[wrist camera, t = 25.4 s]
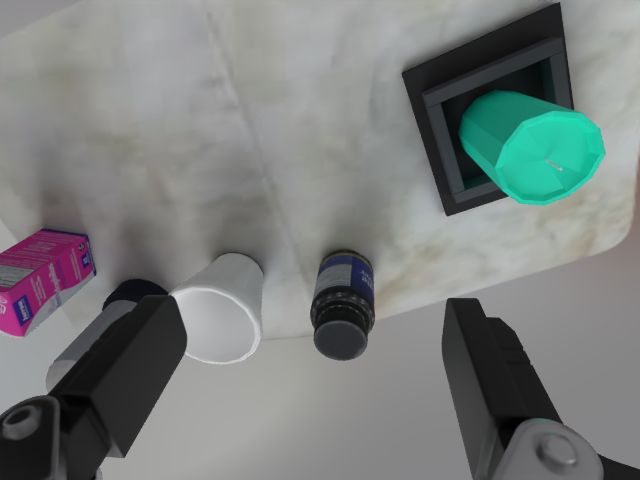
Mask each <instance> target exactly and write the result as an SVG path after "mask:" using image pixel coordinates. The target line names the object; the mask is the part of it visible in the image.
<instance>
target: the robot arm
mask: <svg viewBox="0 0 640 480" xmlns="http://www.w3.org/2000/svg"><path fill="white" fill-rule="evenodd" d="M186 347H187V332H186V329H185V326H184V323H183V320H182V317H181V314H180V311H179V307H178V304H177V301H176V299H175V298H174V296H172V295H146V296H144V297H143V298H142V299H141V300H140V301H139V302H138V304H137V305H136V306H135V307H134V308H133V309H132V311H131V312H127V313H125V314H124V315H123V316H121V317H120V318H118V319H117V320H115V321H114V322H112V323H111V324H110V325H109V326H108V327H107V329H106V330H105V331H104V332H103V333H102V334H101V335H100V336H99V339H97V340H96V341H95V342H94V343H93V344H92V345H91V346H90V348H89V351H86V352H85V353H84V354H83V355H82V356H81V358H80V359H79V360H78V361H77V362H76V363H75V364H74V365H73V366H72V368H71V369H70V370H69V371H68V372H67V373H66V374H65V375H64V376H63V378H62V379H61V380H60V381H59V382H58V383H57V384H56V385H55V386H54V388H53V389H52V390H51V391H50V392H49V393H48V394H47V395H42V396H36V397H32V398H29V399H26V400H24V401H22V402H20V403H18V404H16V405H14V406H13V407H11V408H9V409H8V410H6V411H5V412H4V413H3V414H1V415H0V480H102V472H101V470H100V468H99V466H100V465H101V463H102V462H103V460H104V458H105V457H118V458H125V456H126V454H127V453H128V451H129V449H130V447H131V445H132V444H133V442H134V440H135V439H136V437H137V435H138V433H139V432H140V430H141V428H142V426H143V425H144V423H145V421H146V420H147V418H148V416H149V414H150V413H151V411H152V409H153V407H154V406H155V404H156V402H157V400H158V399H159V397H160V395H161V393H162V392H163V390H164V388H165V387H166V385H167V383H168V381H169V380H170V378H171V376H172V374H173V373H174V371H175V369H176V367H177V366H178V364H179V362H180V360H181V359H182V357H183V355H184V353H185V351H186ZM442 355H443V362H444V366H445V370H446V374H447V378H448V382H449V386H450V390H451V394H452V398H453V402H454V406H455V410H456V414H457V418H458V422H459V426H460V430H461V434H462V438H463V442H464V446H465V450H466V454H467V458H468V462H469V466H470V470H471V474H472V478H473V480H640V469H637V468H634V467H631V466H628V465H625V464H621V463H619V462H616V461H613V460H610V459H608V458H606V457H604V456H601V455H599V454H598V453H596V451H595V450H594V449H593V447H592V446H591V445H590V444H589V443H588V442H587V441H586V440H585V439H584V438H583V437H582V436H581V435H579V434H578V433H577V432H575V431H574V430H572V429H571V428H569V427H567V426H565V425H564V424H563V422H562V421H561V419H560V417H559V415H558V413H557V411H556V410H555V408H554V406H553V404H552V402H551V400H550V398H549V396H548V394H547V392H546V391H545V389H544V387H543V385H542V383H541V381H540V379H539V377H538V375H537V373H536V372H535V369H534V368H533V366H532V365H531V364H530V360H529V358H528V356H527V354H526V353H525V351H523V346H522V345H521V343H520V341H519V339H518V337H517V335H516V333H515V331H514V330H512V329H511V328H510V327H509V326H508V325H507V324H506V323H505V322H503V321H502V320H501V319H500V318H492V317H491V318H490V317H486V316H485V313H484V311H483V309H482V307H481V304H480V302H479V300H478V299H477V298H448V299H447V303H446V310H445V318H444V328H443V335H442Z"/></svg>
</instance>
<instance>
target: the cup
mask: <svg viewBox="0 0 640 480" xmlns="http://www.w3.org/2000/svg"><path fill="white" fill-rule="evenodd" d="M262 289H263V273H262V271H261V269H260V267H259V265H258V264H257V263H256V262H255V261H254V260H253V259H252V258H250V257H248V256H246V255H243V254H241V253H228V254H225V255H222V256H220V257H218V258H217V259H216V260H215V261H214V262H212V263H211V264H210V265H208V266H207V267H206V268H204V269H203V270H201V271H200V272H199V273H197V274H196V275H195V276H193V277H192V278H191V279H189V280H188V281H185V282H183V283H181V284H178V285H177V286H176V287H175V288H174V289H173V290H172V291H171V292H170V293H169V294H168V295H172V296H174V298H175V299H176V301H177V304H178V307H179V311H180V314H181V317H182V320H183V323H184V326H185V329H186V332H187V347H186V351H185V354H186V355H188V356H189V357H192V358H195V359H197V360H200V361H203V362H205V363H212V364H224V365H225V364H230V363H234V362H239V361H242V360H244V359H245V358H247V357H248V356H249V355H251V354H252V353H254V352H255V350H256V348H257V345H258V343H259V341H260V339H261V336H262V333H263V330H262V316H261V307H262Z"/></svg>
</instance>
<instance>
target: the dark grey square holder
mask: <svg viewBox="0 0 640 480" xmlns="http://www.w3.org/2000/svg"><path fill="white" fill-rule="evenodd" d="M402 77H403V80H404V83H405V86H406V89H407V93H408V96H409V99H410V102H411V105H412V109H413V112H414V115H415V118H416V121H417V124H418V128H419V131H420V134H421V137H422V140H423V144H424V147H425V150H426V153H427V156H428V159H429V163H430V166H431V169H432V172H433V175H434V179H435V182H436V185H437V188H438V191H439V194H440V198H441V201H442V204H443V207H444V210H445V213H446V216H450V215H453V214H456V213H459V212H463V211H466V210H469V209H472V208H475V207H478V206H481V205H484V204H487V203H490V202H493V201H496V200H499V199H502V198H505V197H508V196H509V195H507V194H506V193H505V192H503V191H502V190H501V189H500V188H499V187H498V185H497V184H496V183H495V182H494V181H493V180H492V179H491V178H490V177H489V176H488V175H487V174H486V173H485V172H484V171H483V169H482V168H481V167H480V166H479V165H478V164H477V163H476V162H475V161H474V160H473V159H472V158H471V157H470V156H469V155H468V154H467V152H466V151H465V150H464V149H463V147H462V144H461V140H460V137H459V134H458V131H459V127H460V123H461V119H462V115H463V113H464V112H465V111H466V110H467V109H468V107H469V106H470V105H471V104H472V103H473V101H474V100H475V99H476V98H478V97H481V96H483V95H485V94H487V93H489V92H491V91H494V90H504V91H515V92H518V93H521V94H524V95H527V96H531V97H534V98H537V99H540V100H543V101H546V102H549V103H552V104H555V105H558V106H562V107H565V108H568V109H571V110H574V105H573V98H572V90H571V82H570V75H569V67H568V59H567V51H566V44H565V36H564V28H563V21H562V13H561V5H560V2H559V3H555V4H552V5H550V6H548V7H546V8H544V9H541V10H539V11H537V12H535V13H533V14H530V15H528V16H526V17H524V18H522V19H519V20H517V21H515V22H513V23H511V24H508V25H506V26H504V27H502V28H500V29H497V30H495V31H493V32H491V33H489V34H486V35H484V36H482V37H480V38H478V39H475V40H473V41H471V42H469V43H467V44H464V45H462V46H460V47H458V48H456V49H453V50H451V51H449V52H447V53H445V54H442V55H440V56H438V57H436V58H434V59H431V60H429V61H427V62H425V63H423V64H420V65H418V66H416V67H414V68H412V69H409V70H407V71H405V72H403V73H402Z"/></svg>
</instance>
